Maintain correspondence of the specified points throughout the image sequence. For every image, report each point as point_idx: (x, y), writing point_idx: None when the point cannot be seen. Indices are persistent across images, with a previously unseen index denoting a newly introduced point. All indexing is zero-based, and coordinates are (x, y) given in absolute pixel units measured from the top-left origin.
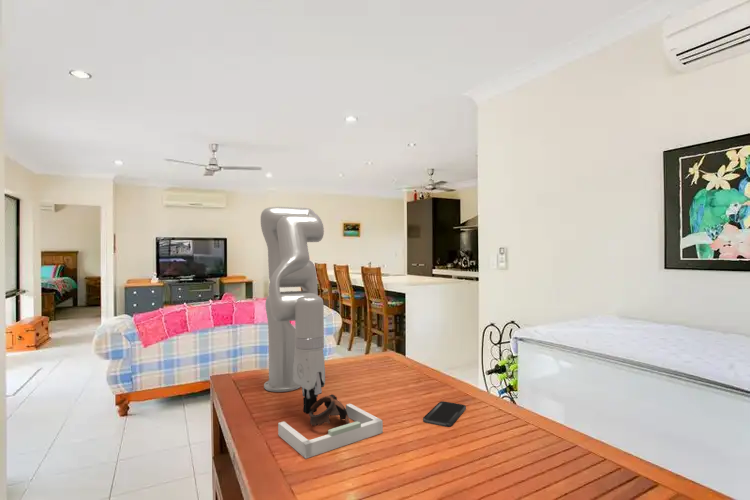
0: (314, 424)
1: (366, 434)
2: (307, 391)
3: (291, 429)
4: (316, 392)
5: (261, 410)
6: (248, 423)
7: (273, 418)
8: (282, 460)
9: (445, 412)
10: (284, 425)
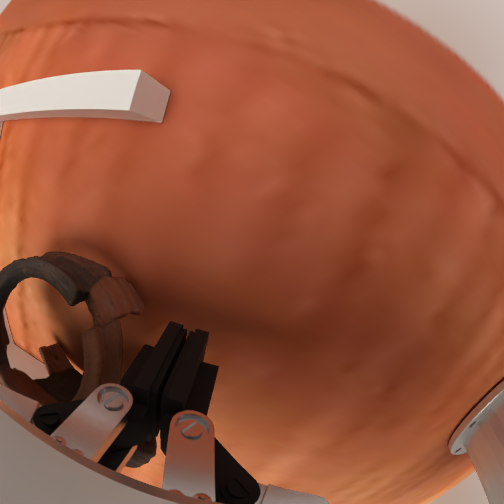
0: (56, 253)
1: None
2: (90, 433)
3: (35, 99)
4: (2, 400)
5: (488, 253)
6: (433, 100)
7: (389, 221)
8: (35, 40)
9: None
10: (85, 86)
